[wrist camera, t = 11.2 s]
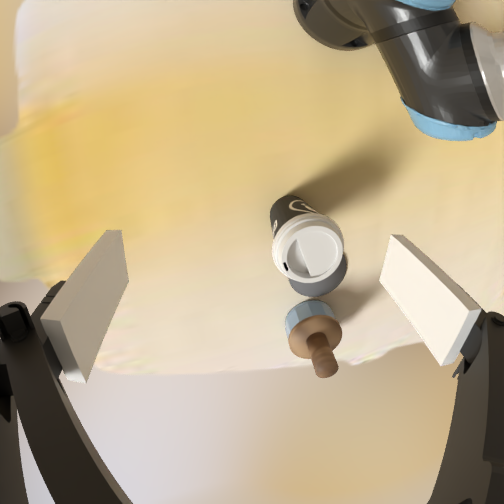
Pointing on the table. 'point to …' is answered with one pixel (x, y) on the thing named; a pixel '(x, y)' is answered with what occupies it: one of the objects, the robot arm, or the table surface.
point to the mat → (321, 282)
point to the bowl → (306, 313)
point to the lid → (317, 342)
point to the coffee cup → (304, 241)
